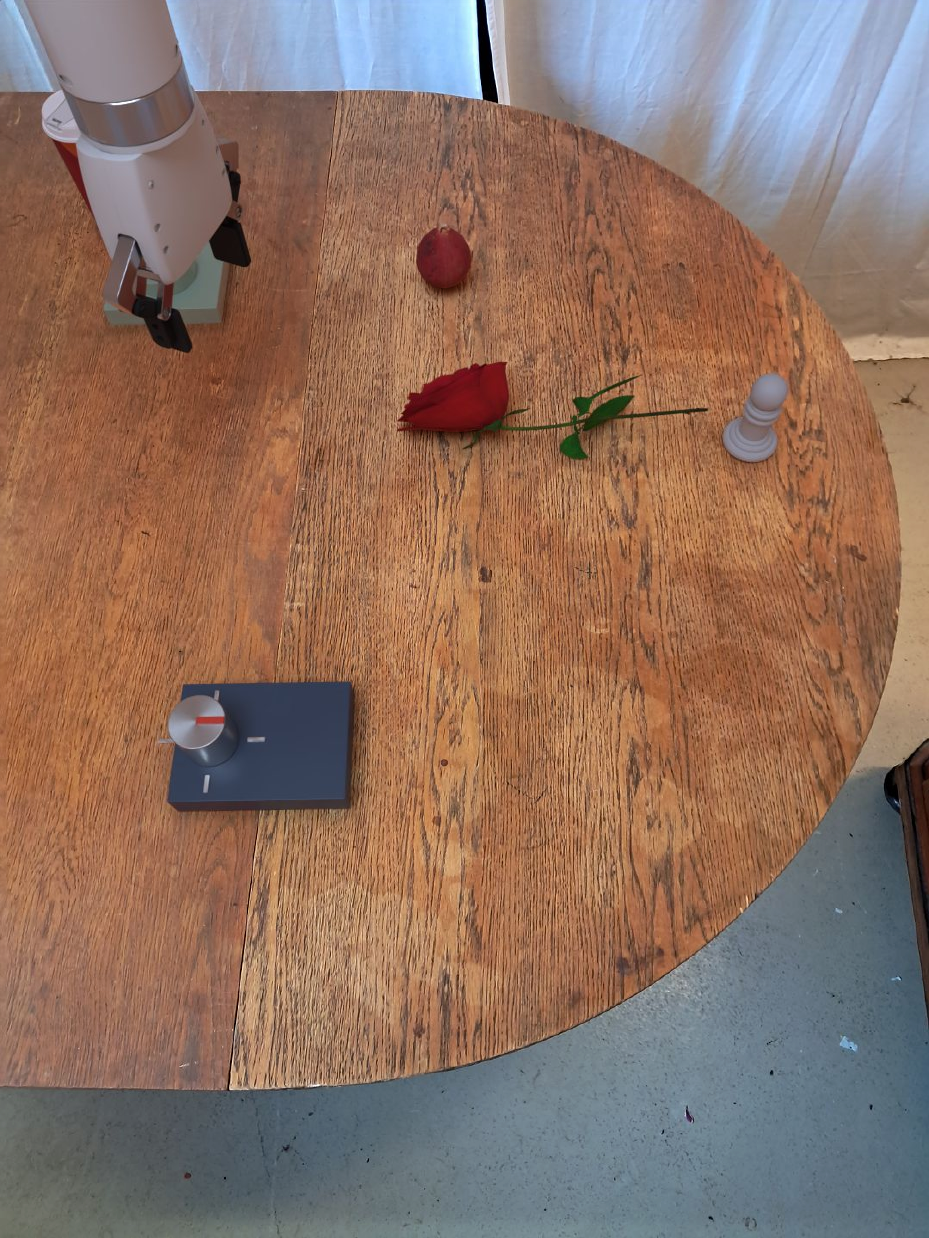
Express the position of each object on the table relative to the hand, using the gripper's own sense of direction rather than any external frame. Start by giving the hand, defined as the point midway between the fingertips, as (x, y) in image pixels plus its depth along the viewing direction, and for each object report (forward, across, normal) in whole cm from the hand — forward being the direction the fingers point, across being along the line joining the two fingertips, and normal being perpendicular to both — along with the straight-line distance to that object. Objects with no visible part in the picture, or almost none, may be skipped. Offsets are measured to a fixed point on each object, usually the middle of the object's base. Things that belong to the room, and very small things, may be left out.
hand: (204, 302), depth 71 cm
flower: (+20, -13, +26) cm, 35 cm away
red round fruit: (+20, -28, +9) cm, 35 cm away
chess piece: (+20, -18, +45) cm, 52 cm away
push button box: (+20, -16, -19) cm, 32 cm away
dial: (+17, +29, +11) cm, 35 cm away
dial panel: (+20, +27, +15) cm, 37 cm away
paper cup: (+20, -24, -30) cm, 43 cm away
